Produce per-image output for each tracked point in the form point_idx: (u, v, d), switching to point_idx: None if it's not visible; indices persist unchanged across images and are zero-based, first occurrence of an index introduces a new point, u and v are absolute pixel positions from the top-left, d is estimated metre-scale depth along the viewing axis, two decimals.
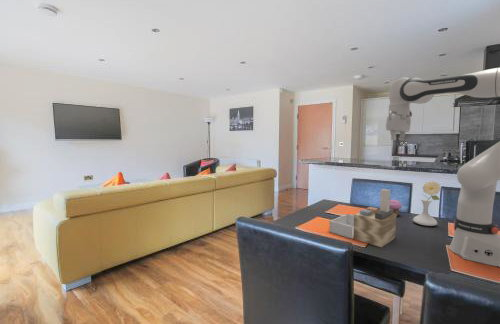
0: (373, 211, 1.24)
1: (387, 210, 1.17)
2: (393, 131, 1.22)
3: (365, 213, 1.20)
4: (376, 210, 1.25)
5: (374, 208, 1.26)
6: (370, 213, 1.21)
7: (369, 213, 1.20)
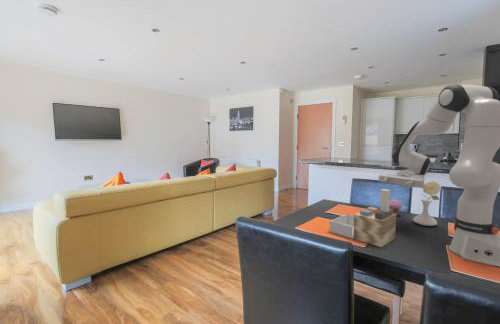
0: (373, 211, 1.24)
1: (387, 210, 1.17)
2: None
3: (365, 213, 1.20)
4: (376, 210, 1.25)
5: (374, 208, 1.26)
6: (370, 213, 1.21)
7: (369, 213, 1.20)
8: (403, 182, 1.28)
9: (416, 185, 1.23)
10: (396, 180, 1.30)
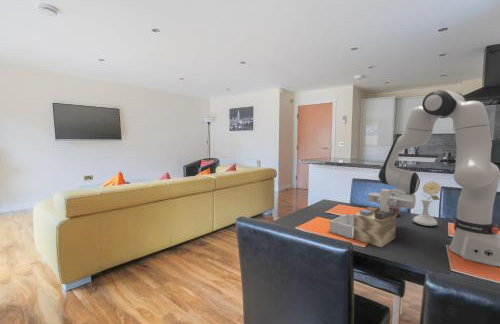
0: (373, 211, 1.24)
1: (387, 210, 1.17)
2: None
3: (365, 213, 1.20)
4: (376, 210, 1.25)
5: (374, 208, 1.26)
6: (370, 213, 1.21)
7: (369, 213, 1.20)
8: None
9: (406, 206, 1.15)
10: None
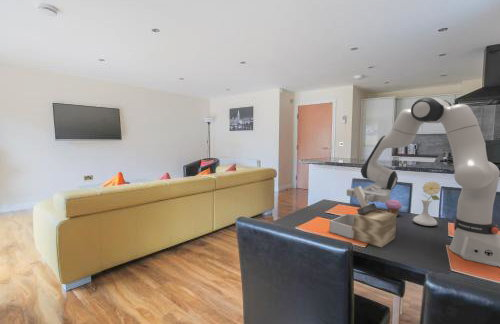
0: None
1: (367, 204, 1.24)
2: None
3: None
4: None
5: None
6: None
7: None
8: None
9: (380, 200, 1.24)
10: None
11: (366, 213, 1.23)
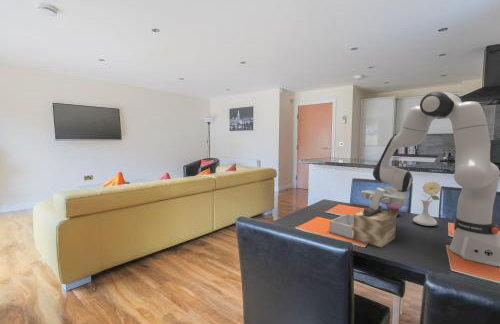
0: None
1: (376, 208, 1.21)
2: None
3: None
4: None
5: None
6: None
7: None
8: None
9: (397, 203, 1.18)
10: None
11: None
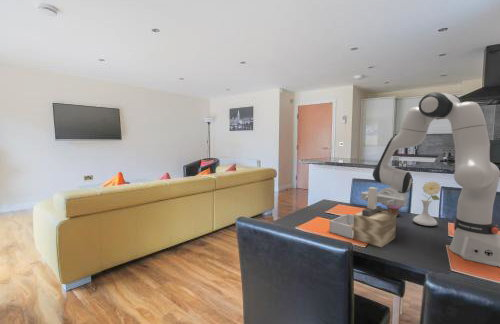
0: None
1: (374, 207, 1.22)
2: None
3: None
4: None
5: None
6: None
7: None
8: (385, 200, 1.23)
9: (398, 204, 1.18)
10: (378, 198, 1.25)
11: None
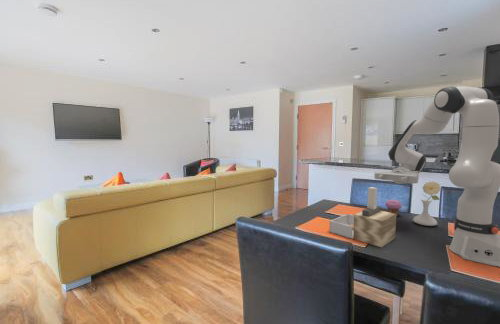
0: None
1: (374, 207, 1.22)
2: None
3: None
4: None
5: None
6: None
7: None
8: (398, 178, 1.31)
9: (410, 181, 1.26)
10: (391, 177, 1.34)
11: None
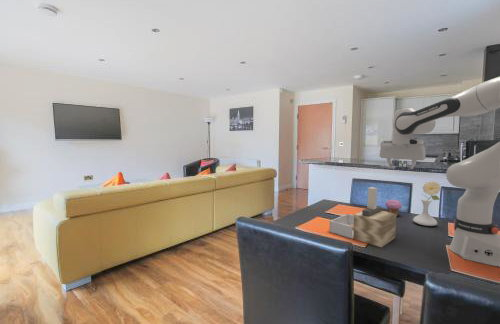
0: None
1: (374, 207, 1.22)
2: None
3: None
4: None
5: None
6: None
7: None
8: None
9: None
10: None
11: None
